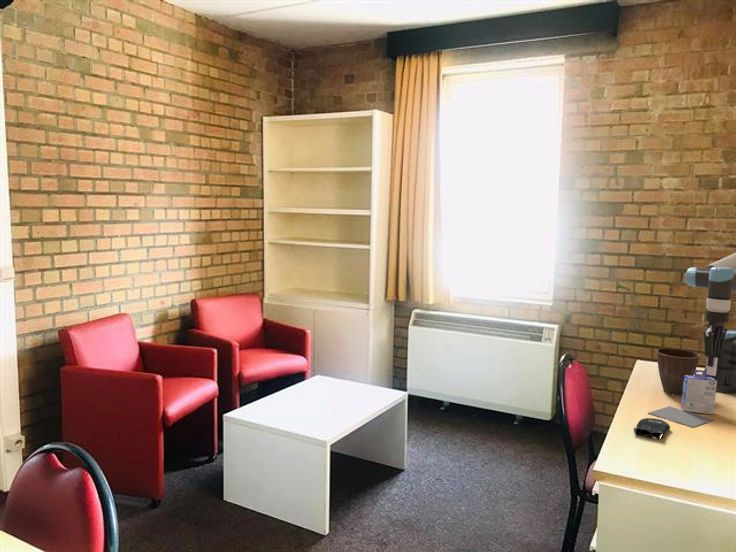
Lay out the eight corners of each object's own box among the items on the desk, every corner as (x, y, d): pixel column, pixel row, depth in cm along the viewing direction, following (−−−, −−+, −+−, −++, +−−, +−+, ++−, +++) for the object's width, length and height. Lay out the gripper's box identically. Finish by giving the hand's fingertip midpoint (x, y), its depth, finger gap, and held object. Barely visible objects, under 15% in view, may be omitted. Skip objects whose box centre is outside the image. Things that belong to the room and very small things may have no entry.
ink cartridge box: (709, 410, 229) (714, 370, 227) (714, 415, 224) (719, 374, 222) (679, 407, 231) (684, 367, 229) (684, 411, 226) (688, 371, 224)
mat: (669, 407, 231) (669, 406, 231) (714, 420, 219) (714, 419, 218) (647, 413, 223) (647, 412, 223) (693, 427, 210) (693, 426, 210)
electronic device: (665, 447, 198) (671, 426, 210) (664, 430, 197) (670, 410, 209) (633, 444, 203) (641, 424, 215) (632, 427, 202) (640, 408, 214)
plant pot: (702, 399, 242) (706, 358, 240) (663, 397, 242) (666, 356, 240) (684, 387, 256) (688, 348, 254) (647, 386, 257) (650, 347, 255)
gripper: (715, 307, 234) (709, 370, 237) (697, 310, 227) (691, 374, 230) (737, 310, 228) (730, 375, 231) (719, 313, 221) (712, 379, 224)
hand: (711, 374), depth 230 cm, fingers closed
